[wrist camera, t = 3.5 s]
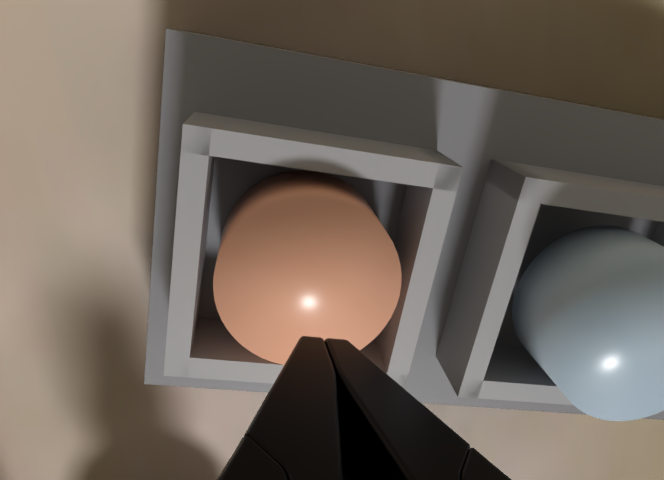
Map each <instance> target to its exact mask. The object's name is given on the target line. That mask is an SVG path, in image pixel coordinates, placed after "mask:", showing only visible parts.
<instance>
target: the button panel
mask: <svg viewBox="0 0 664 480" xmlns="http://www.w3.org/2000/svg"><path fill="white" fill-rule="evenodd" d="M302 170H306V171H317V172H321V173H326V174H329V175H332V176H334V177H337V178H339V179H341V180H343V181H345V182H346V183H348V184H349V185H351V186H352V187H354V188H355V189H356V190H357V191H358V192H359V193H360V194H361V195H362V196H363V197H364V198H365V200H366V201H367V202H368V204H369V205H370V207H371V208H372V210H373V211H374V213H375V215H376V216H377V218H378V219H379V221H380V222H381V224H382V226H383V227H384V229H385V230H386V232H387V234H388V235H389V237H390V238H391V240H392V242H393V244H394V246H395V248H396V251H397V253H398V257H399V261H400V265H401V274H402V278H401V290H400V296H399V299H398V303H397V306H396V308H395V310H394V313H393V315H392V317H391V318H390V320H389V322H388V323H387V325H386V326H385V327H384V329H383V330H382V331H381V332H380V334H379V335H378V336H377V337H376V338H375V339H374V340H372V341H371V342H370V343H369V344H368V345H366V346H365V347H364V348H362V349H361V350H360V351H361V352H362V353H363V354H364V355H365V356H367V357H368V358H369V359H370V360H371V361H372V362H374V363H375V364H376V365H377V366H378V367H379V368H381V369H382V370H383V371H384V372H385V373H386V374H388V375H389V376H390V377H391V378H392V379H393V380H395V381H396V382H397V383H398V384H399V385H400V386H402V387H403V388H404V389H405V390H406V391H407V392H409V393H410V394H411V395H412V396H413V397H414V398H416V399H417V400H418V401H419V402H420V403H427V404H442V405H456V406H471V407H485V408H500V409H514V410H529V411H543V412H558V413H572V414H585V413H584V412H582V411H581V410H579V409H578V408H576V407H575V406H574V405H573V404H572V403H571V402H570V401H569V400H568V398H567V397H566V396H565V395H564V394H563V393H562V391H561V390H560V389H559V388H558V387H557V385H556V384H555V383H554V382H553V381H552V379H551V378H550V377H549V376H548V375H547V374H546V372H545V371H544V370H543V369H542V368H541V366H540V365H539V364H538V363H537V362H536V360H535V359H534V358H533V357H532V356H531V355H530V353H529V352H528V351H527V350H526V349H525V347H524V346H523V345H522V344H521V342H520V340H519V339H518V337H517V335H516V332H515V329H514V326H513V320H512V306H513V299H514V295H515V291H516V289H517V286H518V284H519V281H520V279H521V278H522V276H523V274H524V272H525V271H526V269H527V268H528V266H529V265H530V264H531V262H532V261H533V260H534V259H535V258H536V257H537V256H538V255H539V254H540V253H541V252H542V251H543V250H544V249H545V248H546V247H548V246H549V245H550V244H552V243H553V242H554V241H556V240H558V239H559V238H561V237H563V236H564V235H567V234H569V233H571V232H573V231H576V230H579V229H582V228H585V227H591V226H596V225H614V226H620V227H624V228H627V229H630V230H632V231H635V232H636V233H638V234H640V235H642V236H644V237H646V238H648V239H650V240H652V241H654V242H656V243H658V244H660V245H661V246H663V247H664V119H659V118H654V117H649V116H643V115H638V114H632V113H627V112H622V111H616V110H611V109H605V108H600V107H595V106H589V105H584V104H578V103H573V102H568V101H562V100H557V99H551V98H546V97H541V96H535V95H530V94H524V93H519V92H513V91H508V90H503V89H497V88H492V87H486V86H481V85H476V84H470V83H465V82H459V81H454V80H449V79H443V78H438V77H432V76H427V75H422V74H416V73H411V72H405V71H400V70H395V69H389V68H384V67H378V66H373V65H367V64H362V63H357V62H351V61H346V60H340V59H335V58H330V57H324V56H319V55H313V54H308V53H303V52H297V51H292V50H286V49H281V48H276V47H270V46H265V45H259V44H254V43H249V42H243V41H238V40H232V39H227V38H221V37H216V36H211V35H205V34H200V33H194V32H189V31H183V30H174V29H166V38H165V54H164V70H163V86H162V102H161V119H160V135H159V151H158V167H157V183H156V200H155V216H154V232H153V248H152V264H151V280H150V297H149V313H148V329H147V345H146V361H145V378H144V384H151V385H166V386H180V387H195V388H209V389H224V390H238V391H253V392H267V393H269V391H270V389H271V388H272V386H273V384H274V382H275V381H276V379H277V377H278V375H279V374H280V372H281V370H282V368H283V366H284V365H282V364H278V363H274V362H271V361H268V360H266V359H263V358H261V357H259V356H257V355H255V354H253V353H252V352H250V351H249V350H247V349H246V348H245V347H243V346H242V345H241V344H240V343H239V342H238V341H237V340H236V339H235V338H234V337H233V336H232V335H231V334H230V332H229V331H228V330H227V328H226V327H225V325H224V323H223V322H222V320H221V318H220V315H219V313H218V311H217V307H216V304H215V300H214V292H213V277H214V271H215V266H216V261H217V256H218V252H219V247H220V242H221V238H222V233H223V229H224V226H225V223H226V220H227V218H228V216H229V214H230V212H231V210H232V208H233V207H234V205H235V204H236V203H237V201H238V200H239V199H240V198H241V197H242V196H243V195H244V194H245V193H246V192H247V191H248V190H249V189H251V188H252V187H253V186H255V185H256V184H258V183H259V182H261V181H263V180H265V179H267V178H269V177H271V176H274V175H277V174H281V173H285V172H290V171H302ZM587 415H588V414H587ZM645 419H660V420H664V411H662V412H659V413H657V414H654V415H651V416H648V417H645Z"/></svg>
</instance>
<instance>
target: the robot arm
mask: <svg viewBox="0 0 664 480" xmlns="http://www.w3.org/2000/svg"><path fill="white" fill-rule="evenodd" d="M216 480H511V479H510V478H509V477H508V476H506V475H505V474H504V473H503V472H501V471H500V470H499V469H498V468H497V467H495V466H494V465H493V464H492V463H490V462H489V461H488V460H487V459H486V458H485V457H483V456H482V455H481V454H480V453H479V452H478V451H476V450H475V449H474V448H470V445H469V444H468V443H467V442H466V441H465V440H463V439H462V438H461V437H460V436H459V435H458V434H456V433H455V432H454V431H453V430H452V429H451V428H449V427H448V426H447V425H446V424H445V423H444V422H442V421H441V420H440V419H439V418H438V417H437V416H435V415H434V414H433V413H432V412H431V411H430V410H428V409H427V408H426V407H425V406H424V405H423V404H421V403H420V402H419V401H418V400H417V399H416V398H414V397H413V396H412V395H411V394H410V393H409V392H407V391H406V390H405V389H404V388H403V387H402V386H400V385H399V384H398V383H397V382H396V381H395V380H393V379H392V378H391V377H390V376H389V375H388V374H386V373H385V372H384V371H383V370H382V369H381V368H379V367H378V366H377V365H376V364H375V363H374V362H372V361H371V360H370V359H369V358H368V357H367V356H365V355H364V354H363V353H362V352H361V351H360V350H358V349H357V348H356V347H355V346H354V345H352V344H351V343H350V342H349V341H348V340H345V339H334V338H327V339H325V340H324V339H323V338H321V337H311V336H302V337H300V339H299V340H298V342H297V344H296V345H295V347H294V349H293V351H292V352H291V354H290V356H289V358H288V359H287V361H286V363H285V365H284V366H283V368H282V370H281V372H280V374H279V375H278V377H277V379H276V381H275V382H274V384H273V386H272V388H271V389H270V391H269V393H268V395H267V396H266V398H265V400H264V402H263V403H262V405H261V407H260V409H259V410H258V412H257V414H256V416H255V417H254V419H253V421H252V423H251V424H250V426H249V428H248V430H247V431H246V433H245V435H244V437H243V438H242V440H241V441H240V443H239V445H238V447H237V448H236V450H235V452H234V453H233V455H232V457H231V458H230V460H229V461H228V463H227V464H226V466H225V468H224V469H223V471H222V472H221V474H220V475H219V477H218V478H217V479H216Z"/></svg>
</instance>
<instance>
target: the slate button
mask: <svg viewBox="0 0 664 480" xmlns="http://www.w3.org/2000/svg"><path fill="white" fill-rule="evenodd" d="M512 320H513V326H514V329H515V332H516V335H517V337H518V339H519V340H520V342H521V344H522V345H523V346H524V347H525V349H526V350H527V351H528V352H529V353H530V355H531V356H532V357H533V358H534V359H535V360H536V362H537V363H538V364H539V365H540V366H541V368H542V369H543V370H544V371H545V372H546V374H547V375H548V376H549V377H550V378H551V379H552V381H553V382H554V383H555V384H556V385H557V387H558V388H559V389H560V390H561V391H562V393H563V394H564V395H565V396H566V397H567V398H568V400H569V401H570V402H571V403H572V404H573V405H574V406H575V407H576V408H578V409H579V410H581V411H582V412H584V413H585V414H588V415H590V416H592V417H595V418H599V419H602V420H609V421H628V420H636V419H640V418H645V417H648V416H651V415H654V414H657V413H659V412H662V411H664V247H663V246H661V245H660V244H658V243H656V242H654V241H652V240H650V239H648V238H646V237H644V236H642V235H640V234H638V233H636V232H635V231H632V230H630V229H627V228H624V227H620V226H614V225H596V226H591V227H585V228H582V229H579V230H576V231H573V232H571V233H569V234H567V235H564V236H563V237H561V238H559V239H558V240H556V241H554V242H553V243H552V244H550V245H549V246H548V247H546V248H545V249H544V250H543V251H542V252H541V253H540V254H539V255H538V256H537V257H536V258H535V259H534V260H533V261H532V262H531V264H530V265H529V266H528V268H527V269H526V271H525V272H524V274H523V276H522V278H521V279H520V281H519V284H518V286H517V289H516V291H515V295H514V299H513V306H512Z"/></svg>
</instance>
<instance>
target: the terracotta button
mask: <svg viewBox="0 0 664 480" xmlns="http://www.w3.org/2000/svg"><path fill="white" fill-rule="evenodd" d="M401 278H402V274H401V265H400V261H399V257H398V253H397V251H396V248H395V246H394V244H393V242H392V240H391V238H390V237H389V235H388V234H387V232H386V230H385V229H384V227H383V226H382V224H381V222H380V221H379V219H378V218H377V216H376V215H375V213H374V211H373V210H372V208H371V207H370V205H369V204H368V202H367V201H366V200H365V198H364V197H363V196H362V195H361V194H360V193H359V192H358V191H357V190H356V189H355V188H354V187H352V186H351V185H349V184H348V183H346V182H345V181H343V180H341V179H339V178H337V177H334V176H332V175H329V174H326V173H321V172H317V171H306V170H302V171H290V172H285V173H281V174H277V175H274V176H271V177H269V178H267V179H265V180H263V181H261V182H259V183H258V184H256V185H255V186H253V187H252V188H251V189H249V190H248V191H247V192H246V193H245V194H244V195H243V196H242V197H241V198H240V199H239V200H238V201H237V203H236V204H235V205H234V207H233V208H232V210H231V212H230V214H229V216H228V218H227V220H226V223H225V226H224V229H223V233H222V238H221V242H220V247H219V252H218V256H217V261H216V266H215V271H214V277H213V292H214V300H215V304H216V307H217V311H218V313H219V315H220V318H221V320H222V322H223V323H224V325H225V327H226V328H227V330H228V331H229V332H230V334H231V335H232V336H233V337H234V338H235V339H236V340H237V341H238V342H239V343H240V344H241V345H242V346H243V347H245V348H246V349H247V350H249V351H250V352H252V353H253V354H255V355H257V356H259V357H261V358H263V359H266V360H268V361H271V362H274V363H278V364H282V365H285V363H286V361H287V359H288V358H289V356H290V354H291V352H292V351H293V349H294V347H295V345H296V344H297V342H298V340H299V339H300V337H302V336H311V337H321V338H323V339H324V340H325V339H327V338H334V339H345V340H348V341H349V342H350V343H351V344H352V345H354V346H355V347H356V348H357V349H358V350H361V349H362V348H364V347H365V346H366V345H368V344H369V343H370V342H371V341H372V340H374V339H375V338H376V337H377V336H378V335H379V334H380V332H381V331H382V330H383V329H384V327H385V326H386V325H387V323H388V322H389V320H390V318H391V317H392V315H393V313H394V310H395V308H396V306H397V303H398V299H399V296H400V290H401Z"/></svg>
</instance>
